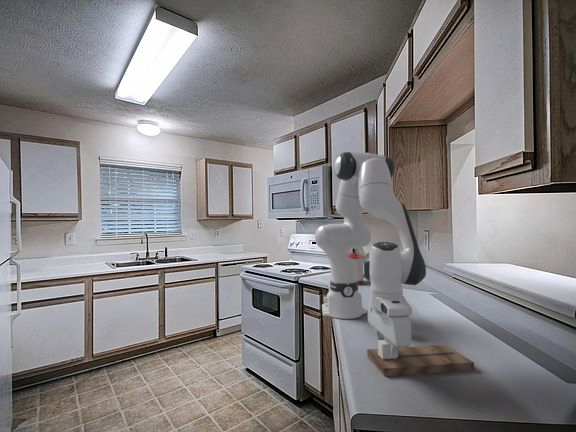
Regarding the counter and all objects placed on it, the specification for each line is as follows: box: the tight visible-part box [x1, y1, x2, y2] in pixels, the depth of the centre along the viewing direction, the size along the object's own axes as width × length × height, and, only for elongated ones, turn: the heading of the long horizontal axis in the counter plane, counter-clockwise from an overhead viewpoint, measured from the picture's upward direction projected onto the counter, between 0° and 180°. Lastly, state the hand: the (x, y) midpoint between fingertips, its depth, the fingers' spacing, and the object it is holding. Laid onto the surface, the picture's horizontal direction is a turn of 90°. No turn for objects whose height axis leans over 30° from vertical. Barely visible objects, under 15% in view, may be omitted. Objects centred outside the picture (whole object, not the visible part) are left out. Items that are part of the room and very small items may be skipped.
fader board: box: [366, 344, 475, 377], centre depth 87 cm, size 25×12×2 cm, turn 96°
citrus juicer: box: [347, 252, 365, 285], centre depth 199 cm, size 16×17×20 cm
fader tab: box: [377, 339, 395, 359], centre depth 86 cm, size 4×3×4 cm
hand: (387, 350), depth 86 cm, fingers open, 7 cm apart
